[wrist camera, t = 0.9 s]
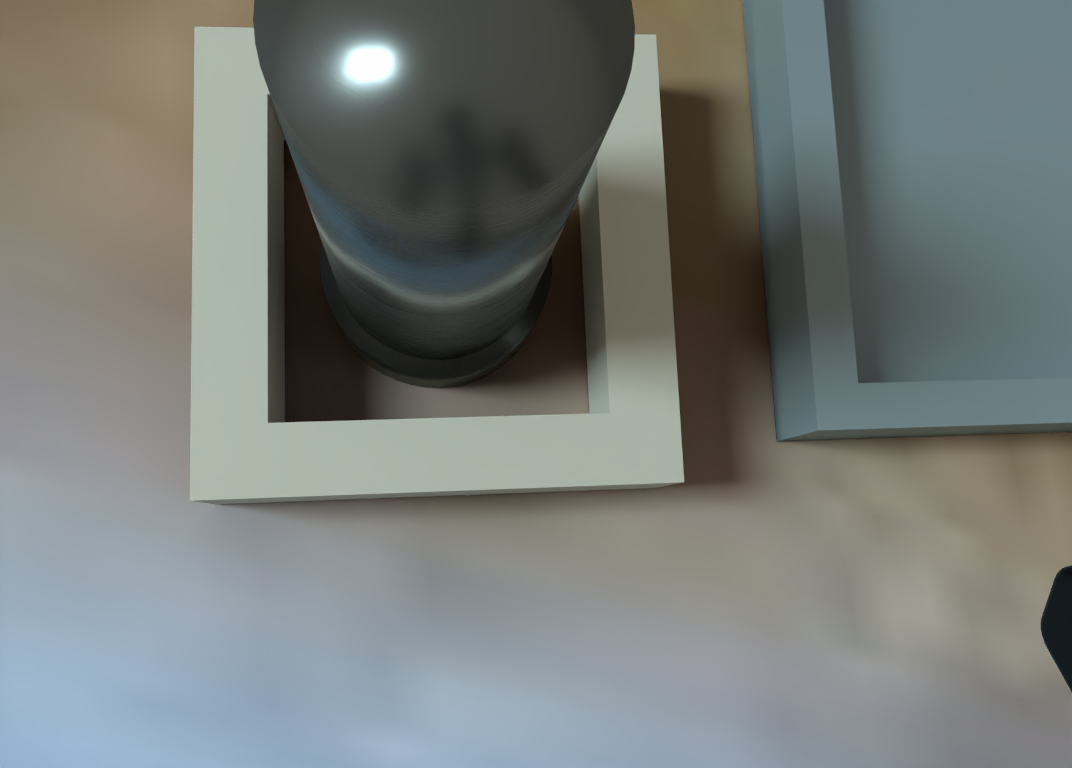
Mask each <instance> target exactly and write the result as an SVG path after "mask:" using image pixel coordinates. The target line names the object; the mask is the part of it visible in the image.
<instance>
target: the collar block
mask: <svg viewBox="0 0 1072 768" xmlns="http://www.w3.org/2000/svg"><path fill="white" fill-rule="evenodd" d="M284 141H286V139H285V136H284V133H283V130H282V127H281V124H280V122H279V119H278V116H277V113H276V110H275V107H274V104H273V102H272V99H271V96H270V93H269V90H268V87H267V85H266V82H265V79H264V76H263V73H262V70H261V68H260V64H259V59H258V54H257V50H256V45H255V36H254V28H238V27H195V49H194V148H193V247H192V346H191V445H190V501H196V502H203V503H210V504H241V503H267V502H294V501H320V500H347V499H374V498H400V497H427V496H453V495H480V494H507V493H533V492H560V491H586V490H613V489H640V488H658V487H663V486H668V485H673V484H678V483H683V482H684V470H683V454H682V439H681V423H680V407H679V391H678V376H677V360H676V344H675V329H674V313H673V297H672V281H671V266H670V250H669V234H668V218H667V203H666V187H665V171H664V155H663V140H662V124H661V108H660V92H659V77H658V61H657V45H656V35H640V34H635V49H634V56H633V62H632V69H631V74H630V77H629V80H628V84H627V87H626V90H625V94H624V96H623V98H622V100H621V102H620V105H619V107H618V109H617V111H616V113H615V116H614V118H613V120H612V122H611V124H610V127H609V129H608V131H607V133H606V135H605V138H604V140H603V142H602V144H601V146H600V149H599V151H598V153H597V155H596V157H595V160H594V162H593V164H592V166H591V169H590V171H589V173H588V175H587V177H586V180H585V182H584V184H583V186H582V188H581V191H580V193H579V213H580V233H581V253H582V273H583V293H584V313H585V333H586V353H587V373H588V393H589V413H590V414H562V415H527V416H492V417H456V418H421V419H386V420H351V421H315V422H285V291H284Z"/></svg>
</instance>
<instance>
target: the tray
mask: <svg viewBox="0 0 1072 768" xmlns="http://www.w3.org/2000/svg"><path fill="white" fill-rule="evenodd" d="M742 1H743V14H744V27H745V40H746V53H747V66H748V78H749V91H750V104H751V117H752V130H753V143H754V156H755V169H756V181H757V194H758V207H759V220H760V233H761V246H762V259H763V271H764V284H765V297H766V310H767V323H768V336H769V349H770V361H771V374H772V387H773V400H774V413H775V426H776V439H777V441H801V440H832V439H863V438H894V437H925V436H956V435H986V434H1017V433H1048V432H1072V0H742Z"/></svg>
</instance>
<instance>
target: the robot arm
mask: <svg viewBox="0 0 1072 768" xmlns="http://www.w3.org/2000/svg"><path fill="white" fill-rule="evenodd" d="M1041 632H1042V636H1043V639H1044V642H1045V644H1046V647H1047V648H1048V650H1049V652H1050V654H1051V656H1052V657H1053V659H1054V661H1055V663H1056V665H1057V666H1058V668H1059V670H1060V672H1061V674H1062V676H1063V677H1064V679H1065V681H1066V683H1067V685H1068V686H1069V688H1070V690H1071V692H1072V566H1068V567H1064V568H1062V569H1061V570H1060V571H1059V572H1058V573H1057V575H1056V577H1055V579H1054V582H1053V585H1052V588H1051V591H1050V594H1049V597H1048V600H1047V603H1046V606H1045V609H1044V612H1043V615H1042V618H1041Z"/></svg>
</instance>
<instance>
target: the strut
mask: <svg viewBox="0 0 1072 768" xmlns="http://www.w3.org/2000/svg"><path fill="white" fill-rule="evenodd" d="M253 22H254V36H255V45H256V50H257V54H258V59H259V64H260V68H261V70H262V73H263V76H264V79H265V82H266V85H267V87H268V90H269V93H270V96H271V99H272V102H273V104H274V107H275V110H276V113H277V116H278V119H279V122H280V124H281V127H282V130H283V133H284V136H285V139H286V141H287V144H288V147H289V150H290V153H291V156H292V158H293V161H294V164H295V167H296V170H297V173H298V175H299V178H300V181H301V184H302V187H303V190H304V192H305V195H306V198H307V201H308V204H309V207H310V210H311V212H312V215H313V218H314V221H315V224H316V227H317V229H318V232H319V235H320V238H321V245H320V260H319V261H320V274H321V280H322V284H323V289H324V292H325V295H326V298H327V300H328V303H329V306H330V308H331V311H332V313H333V315H334V318H335V320H336V322H337V325H338V327H339V329H340V330H341V332H342V334H343V336H344V338H345V339H346V340H347V342H348V343H349V345H350V346H351V348H352V349H353V350H354V351H355V352H356V353H357V354H358V355H359V356H360V357H361V358H362V359H363V360H364V361H365V362H367V363H368V364H369V365H370V366H371V367H373V368H374V369H376V370H378V371H379V372H381V373H382V374H384V375H386V376H388V377H390V378H393V379H395V380H397V381H400V382H403V383H407V384H410V385H415V386H421V387H432V388H442V387H453V386H458V385H462V384H467V383H470V382H472V381H475V380H478V379H480V378H482V377H484V376H486V375H488V374H490V373H492V372H494V371H495V370H496V369H498V368H499V367H501V366H502V365H504V364H505V363H506V362H507V361H508V360H509V359H510V358H511V357H512V356H513V355H514V354H515V353H516V352H517V351H518V349H519V348H520V347H521V346H522V345H523V343H524V341H525V340H526V338H527V337H528V335H529V333H530V332H531V330H532V328H533V326H534V324H535V322H536V320H537V318H538V316H539V314H540V312H541V310H542V308H543V306H544V303H545V301H546V298H547V294H548V291H549V288H550V281H551V275H552V252H553V250H554V248H555V246H556V243H557V241H558V239H559V237H560V235H561V232H562V230H563V228H564V226H565V224H566V221H567V219H568V217H569V215H570V213H571V210H572V208H573V206H574V204H575V202H576V199H577V197H578V195H579V193H580V191H581V188H582V186H583V184H584V182H585V180H586V177H587V175H588V173H589V171H590V169H591V166H592V164H593V162H594V160H595V157H596V155H597V153H598V151H599V149H600V146H601V144H602V142H603V140H604V138H605V135H606V133H607V131H608V129H609V127H610V124H611V122H612V120H613V118H614V116H615V113H616V111H617V109H618V107H619V105H620V102H621V100H622V98H623V96H624V94H625V90H626V87H627V84H628V80H629V77H630V74H631V69H632V62H633V56H634V49H635V24H634V16H633V9H632V2H631V0H255V2H254V16H253Z"/></svg>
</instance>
